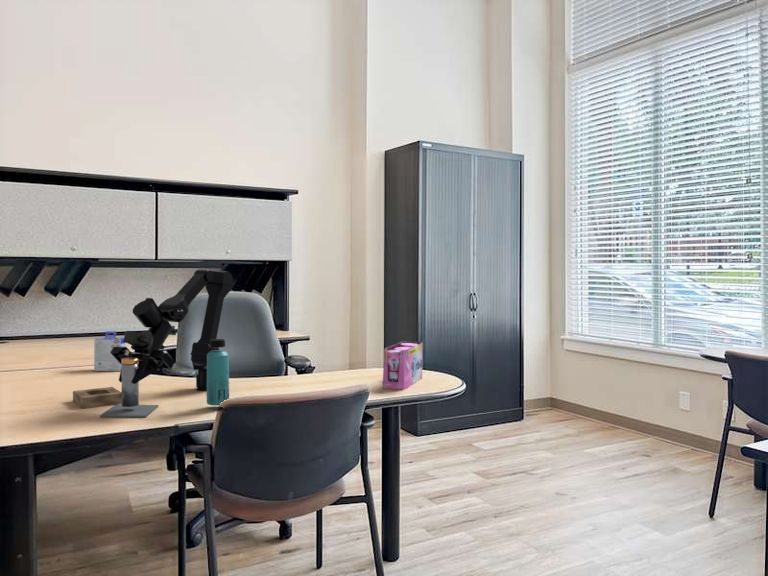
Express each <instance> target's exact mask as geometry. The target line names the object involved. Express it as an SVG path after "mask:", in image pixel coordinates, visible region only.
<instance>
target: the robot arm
mask: <svg viewBox="0 0 768 576" xmlns="http://www.w3.org/2000/svg"><path fill="white" fill-rule="evenodd" d="M193 273H194V274H193V275H192V276H191V278H189V280H188V281H187V282H186V283H185V284H184V285H183V286H182V288H181V289H180V290H179V291H178V292H177V293H176V294H175V295H173V296H170V297H169V298H166V299H165V300H163V301H162V302H161V303H160V304H159V305H157V303H156V302H155V300H154V298H152V297H146V298H145V299H144V300H141V301H140V302H139V303H137V304H135V305H134V307H133V308H132V314H133V315H134V316H135V318H136V319H137V320H138V321H139V323H141V325H142V326H143V327H144V328H147V330H143V331H142V332H141V331H135V330H134V331H132V330H126V331H125V334H124V336H123V337H124V339H123V342H124V343H125V344H129V345H131V346H130V348H131V349H132V351H130V349H129V348H128V347H127V346H125V347H122V346H115V347H113V349H112V350H111V352H110V353H111V354H112V355H113V356H114V358H115V359H116V360H117V361H118V362H119V363H120V364H122V358H126V357H137V358H139V361H141V364H140V365H139V369H138V371H137V372H136V374H135V376H134V378H133V380H132V383H133V384H136V383H137V382H139V383H140V381H142V380H143V379H145V378H147V377H149V376H151V375H152V374H154V373H155V372H158V371H160V370H161V368H162V369H163V370H172V368H173V366H174V365H175V361H174V358H173V357H172V356H171V354H169V352H168V351H167V350H164V349H165V348H166V347H165V346H164V343H165V342H166V340H167V338H169V336H170V335H172V336H176V334H177V332H176V328H175V326H174V325H172V324H171V323H181V322H182V321H183V320H184V319H185V317H186V315H187V314H188V312H189V306H190V305H191V303H192V302H193V301H194V299H195V298H196V297H197V296H199V294H200V292H202V291H203V289H204V288H205V290H206V292H207V295H208V297H207V301H206V302H207V303H206V307H205V314H204V319H203V324H202V328H201V329H202V330H201V334H200V339H198V341H197V342H195V341H194V342H193V343H192V345H191V352H190V361H191V364H192V368H193V370H194V371H197V374H196V375H195V378H196V379H195V382H196V383H195V384H196V386H195V387H196V391H207V390H206V389H207V354H208V353H209V352H210V351H213V350H220V347H210V345H211V340H212V339H218V338H217V337H218V331H219V326H220V321H221V315H222V312H223V311H222V310H223V305H224V300H225V297H226V296H227V295H228V294H229V293H230V292H231V289H232V285H233V282H234V277H233V275H232V273H231V272H230V271H228V270H226V271H225V270H210V269H201V268H200V269H197V270H194V272H193ZM133 351H134V352H133ZM160 366H161V368H160ZM119 372H120V373H119V376H118V381H119V383H122V367H121V371H119Z"/></svg>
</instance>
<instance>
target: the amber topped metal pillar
mask: <svg viewBox="0 0 768 576" xmlns="http://www.w3.org/2000/svg"><path fill="white" fill-rule="evenodd" d="M139 361H140V360H139V358H137V357H126V358H122V382H121V392H122V404H121V405H122V406H123V407H133V406H137V405H140V403H139V402H140V400H139V399H140V395H139V393H140V392H139V389H140V386H139V385H140V384H139V383H140V381H139V382H137V383H136V384H133V383H132V380H133V378H134V376H135V374H136V372H137V371H138V369H139V367H140V364H139Z"/></svg>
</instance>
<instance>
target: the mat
mask: <svg viewBox="0 0 768 576" xmlns="http://www.w3.org/2000/svg"><path fill="white" fill-rule="evenodd" d="M158 408H159V404H139V405H137V406H133V407H123V406H122V404H115V405H113V406H112V407H110V408H108V409H107V410H106V411H104V412H103V413H101V414H100V415H99V419H100V418H101V419H103V418H104V419H105V418H106V419H107V418H109V419H110V418H111V419H117V418H118V419H120V418H121V419H122V418H123V419H125V418H126V419H127V418H128V419H129V418H130V419H133V418H134V419H135V418H136V419H138V418H139V419H144V418H145V419H146V418H147V417H148V416H150V415H151V414H152V413H153V412H154V411H155V410H157V409H158Z"/></svg>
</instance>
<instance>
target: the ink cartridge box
mask: <svg viewBox="0 0 768 576" xmlns="http://www.w3.org/2000/svg"><path fill="white" fill-rule="evenodd" d="M123 339H124V336H123V337H117V331H115V330H113V331H106V332H105V336H104V337H97V338H94V341H93V342H94V343H93V344H94V345H93V347H94V355H93V358H94V359H93V360H94V361H93V367H94V369H93V372H121V367H122V364H120V363H119V362H118V361H117V360H116V359H115V358H114V356H113V355H112V354H111V353H110V352H111V350H112V349H113V347H115V346H122V347H126V343H124V342H123Z"/></svg>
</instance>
